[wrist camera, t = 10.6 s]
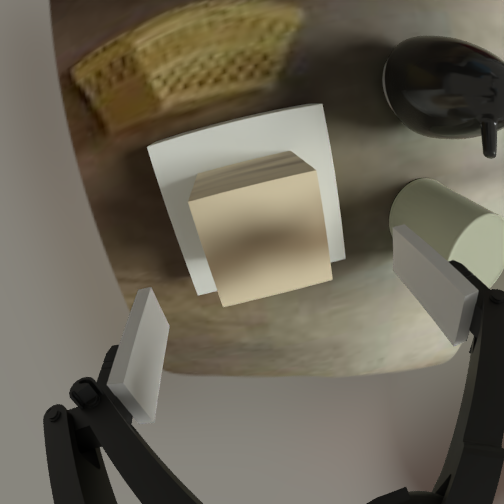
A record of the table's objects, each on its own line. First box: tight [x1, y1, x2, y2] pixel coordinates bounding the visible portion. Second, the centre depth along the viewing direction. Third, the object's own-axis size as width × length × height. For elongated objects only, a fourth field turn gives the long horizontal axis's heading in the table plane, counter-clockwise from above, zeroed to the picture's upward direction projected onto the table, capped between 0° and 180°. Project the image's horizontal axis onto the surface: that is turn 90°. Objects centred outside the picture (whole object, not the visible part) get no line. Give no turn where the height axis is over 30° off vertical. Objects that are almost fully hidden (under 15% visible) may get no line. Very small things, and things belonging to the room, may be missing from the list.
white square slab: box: [147, 103, 346, 295], centre depth 30 cm, size 15×15×4 cm
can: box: [389, 178, 504, 288], centre depth 29 cm, size 9×9×12 cm
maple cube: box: [188, 151, 333, 307], centre depth 24 cm, size 8×8×8 cm
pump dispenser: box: [382, 36, 504, 159], centre depth 21 cm, size 10×10×15 cm
